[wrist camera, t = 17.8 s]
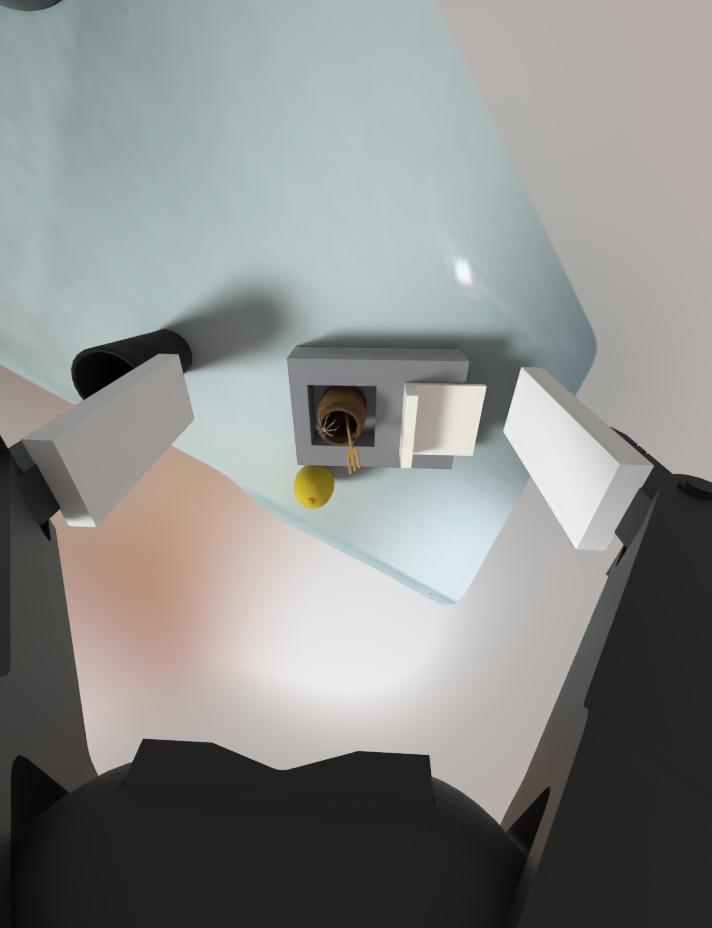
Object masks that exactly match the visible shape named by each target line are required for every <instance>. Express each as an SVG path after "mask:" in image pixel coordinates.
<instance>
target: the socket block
mask: <svg viewBox="0 0 712 928" xmlns="http://www.w3.org/2000/svg"><path fill="white" fill-rule="evenodd" d="M469 362H470V361H469V360H468V359H467V357H466V356H465V354H464V353H463V352H462V350H461V349H430V348H359V347H295V348H294V350H293V351H292V352H291V354H290V355H289V357H288V358H287V363H288V373H289V383H290V393H291V402H292V412H293V422H294V432H295V442H296V452H297V462H298V465H320V466H348V463H347V457H346V455H347V453H348V452H349V451H350V446H349V445H347V446H334V445H331V444H329V443H327V442H326V441H325V440H324V439H323V438H322V437H321V435H320V434H319V433H318V432H319V431H318V428H317V427H318V425H316V424H317V422H318V420H317V412H318V408H319V404H320V401H321V399H322V396H323V395H324V393H325V392H326V390H327V389H329V388H330V387H331V386H333V385H340V386H355V387H357V388H358V389H359V390H360V391H361V392H362V393H363V395H364V397H365V400H366V405H367V412H366V421H365V425H364V427H363V429H362V432H361V434H360V436H359V437H358V439H357V440H356V441H355V442H354V443H353V448H357V449H358V451H359V457H360V464H361V467H392V468H401V464H400V454H399V448H400V435H401V422H402V408H403V395H404V383H446V384H466V379H467V373H468V368H469ZM316 426H317V427H316ZM453 456H454V455H422V454H413V455H412V465H411V468H429V469H451V468H452V462H453ZM350 461H351V466H353V464H352V459H351V460H350ZM355 463H356V467H358V464H357V459H356V456H355Z"/></svg>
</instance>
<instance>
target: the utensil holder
mask: <svg viewBox="0 0 712 928" xmlns="http://www.w3.org/2000/svg"><path fill="white" fill-rule="evenodd" d="M366 412H367V405H366V400H365V397H364V395H363V393H362V392H361V391H360V390H359V389H358V388H357V387H355V386H340V385H333V386H331V387H330V388H329V389H327V390H326V392H325V393H324V395H323V396H322V399H321V401H320V404H319V408H318V412H317V420H318V422H317V424H316V425H318V427H317V426H316V427H317V428H318V431H319V432H318V433H319V434H320V435H321V437H322V438H323V439H324V440H325V441H326V442H327V443H329V444H331V445H334V446H347V445H349V446H350V451H349V452H348V453H347V455H346V457H347V463H348V469H349V474H352V469H351V461H350V460H351V459H352V464H353V470H354V471H356V463H355V456H356V459H357V464H358V468H359V469H360V468H361V464H360V457H359V451H358V449H357V448H353V443H354V442H355V441H356V440H357V439H358V437H359V436H360V434H361V432H362V429H363V427H364V425H365V421H366Z"/></svg>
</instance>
